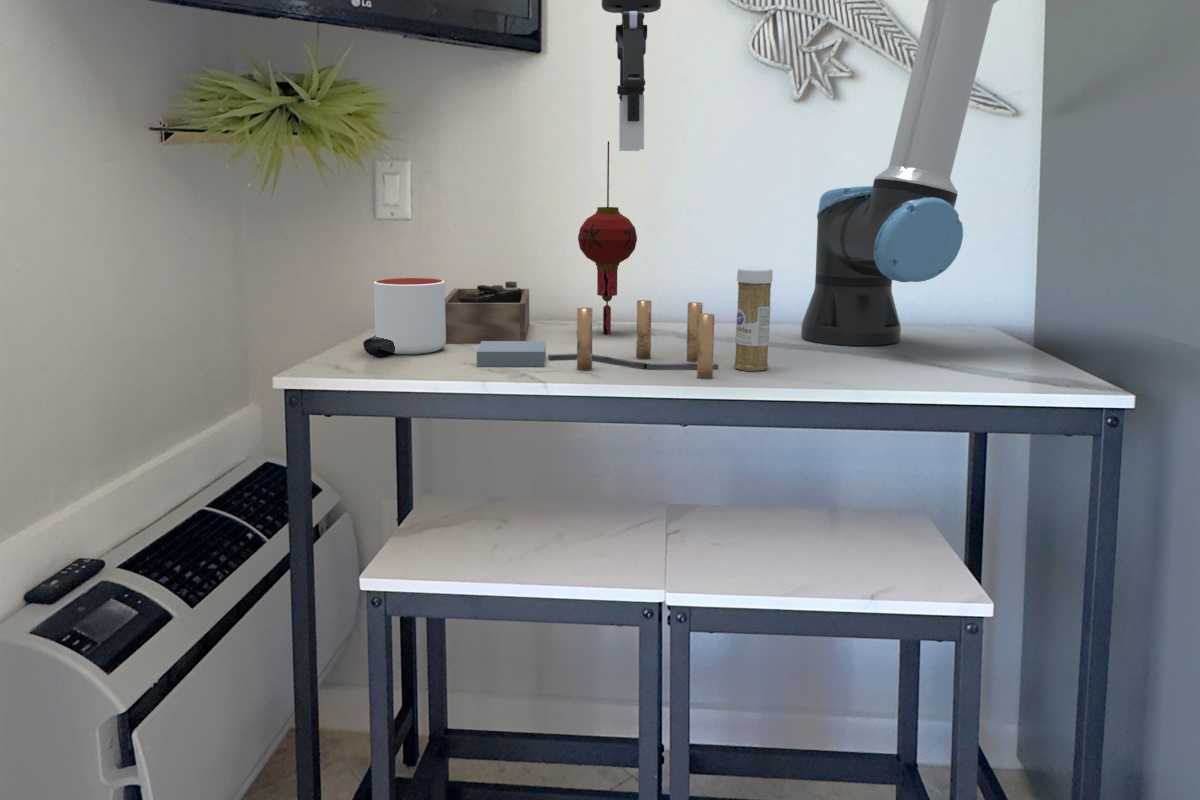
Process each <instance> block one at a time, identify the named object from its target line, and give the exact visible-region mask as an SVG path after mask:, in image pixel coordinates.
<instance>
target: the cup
mask: <svg viewBox="0 0 1200 800" xmlns="http://www.w3.org/2000/svg"><path fill="white" fill-rule="evenodd" d="M445 283H446V281H445V280H444V279H439V278H429V277H427V278H426V277H400V278H399V277H397V278H396V277H395V278H393V277H392V278H385V279H384V278H383V279H378V280H375V281H374V282H373V297H374V298H373V300H374V302H373V303H374V324H375V325H374V327H375V331H374V332H375V338H376V337H379V338H384V339H388V340H391V341H393V343H394V346H395V352H394V353H395V354H394V355H423V354H431V353H435V352H438V351H440V350H441V349H443V348H444V346H445V345H446V344H447V343H446V319H445V298H446V288H445V287H446V284H445Z"/></svg>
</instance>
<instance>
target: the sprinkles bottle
mask: <svg viewBox="0 0 1200 800" xmlns="http://www.w3.org/2000/svg"><path fill="white" fill-rule="evenodd" d="M736 278H737V279H736V281H737V285H738V288H737V290H738V291H737V312H736V325H735V326H736V327H735V328H736V329H735V360H734V367H735V368H736V369H737V370H741V371H746V372H759V371H764V370H765V371H766V370H767V369H769V363H768V357H769V356H768V353H769V345H770V325H771V322H770V321H771V320H770V319H771V287H772V283H773V269H772V267H769V266H768V267H767V266H754V265H753V266H751V265H749V266H740V267H738V269H737V275H736Z"/></svg>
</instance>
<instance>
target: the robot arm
mask: <svg viewBox="0 0 1200 800" xmlns="http://www.w3.org/2000/svg"><path fill="white" fill-rule="evenodd" d="M998 1H1000V0H928V1H927V6H926V9H925V14H924V17H923V23H922V26H921V31H920V34H919V39H918V44H917V47H916V51H915V55H914V59H913V64H912V67H911V72H910V76H909V82H908V85H907V88H906V92H905V98H904V101H903V105H902V110H901V114H900V119H899V122H898V126H897V129H896V130H897V131H896V136H895V140H894V143H893V147H892V152H891V155H890V160H889V164H888V167H887V168H886V169H884V170H883V171H882V172H881V173H879V174H878V175H876V176H874V180H873V183H872V185H870V186H869V185H868V186H867V185H866V186H852V187H851V186H850V187H842V188H840V187H839V188H833V189H830V190H827V191H825V192H824V193H823V194H821V196H820V198H819V205H818V211H817V213H816V219H817V229H816V230H817V231H816V232H817V233H816V255H815V256H816V257H815V279H814V289H813V293H812V295H811V297H810V300H809V302H808V306H807V308H806V311H805V314H804V317H803V319H802V322H801V334H800V337H801V338H803V339H805V340H807V341H811V342H816V343H822V344H829V345H830V344H831V345H844V346H880V345H881V346H883V345H890V344H894V343H898V342H900V340H901V330H902V328H901V327H902V326H901V322H900V318H899V315H898V311H897V308H896V304H895V300H894V296H893V292H892V289H893V287H892V283H893V281H896V282H899V283H919V282H920V283H921V282H926V281H930V280H932V279H934V278H936V277H937V276H939V275H940V274H942V273H944V272H945V271H946V270H948V268H949V267H951V265H952V263H954V261H955V260H956V258H957V256H958V254H959V252H960V250H961V247H962V244H963V238H964V228H963V222H962V221H961V220H960V215H959V213H958V211H957V210H956V209H955V206H956V202H957V198H958V195H959V194H958V190H957V188H956V187H955V186H954V184H953V182H952V179H951V176H952V173H953V172H952V171H953V169H954V164H955V160H956V158H957V157H956V155H957V152H958V147H959V144H960V140H961V135H962V132H963V128H964V124H965V121H966V120H965V119H966V116H967V112H968V108H969V103H970V99H971V95H972V92H973V89H974V85H975V79H976V75H977V71H978V68H979V63H980V60H981V56H982V53H983V52H982V51H983V48H984V43H985V40H986V35H987V31H988V28H989V27H988V26H989V24H990V18H991V16H992V11H993V8H994V5H995V4H996V3H997V2H998ZM661 6H662V0H601V8H602V10H604V11H605V12H606V13H607V12H608V13H612V14H621V23H620V24H616V25H615V42H616V44H617V49H616V50H617V51H616V53H617V56H616V57H617V59H618V60H619V85H617V89H616V92H617V93H616V94H617V95H618V98H619V105H618V106H619V110H618V111H619V114H618V116H619V118H618V119H619V122H618V123H619V126H618V127H619V128H618V129H619V130H618V131H619V133H618V134H619V135H618V136H619V140H618V141H619V146H618V147H619V152H632V151H633V152H636V151H637V152H640V150H645V95H644V92H645V86H646V80H645V54H646V51H647V50H646V49H647V39H648V25H647V24H644V19H645V14H648V13H655V12H657V11H658V10H660V9H661Z"/></svg>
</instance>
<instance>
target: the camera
mask: <svg viewBox="0 0 1200 800" xmlns="http://www.w3.org/2000/svg"><path fill="white" fill-rule="evenodd" d="M476 287H477V288H465V289H466V296H462V297H459V302H458V303H520V301H521V289H522V288H520V287H518V283H517V281H505V287H504V285H501V284H499V285H498V284H497V285H496V284H495V285H491V286H490V285H484V284H480V285H479V284H478V285H477V286H476Z"/></svg>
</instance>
